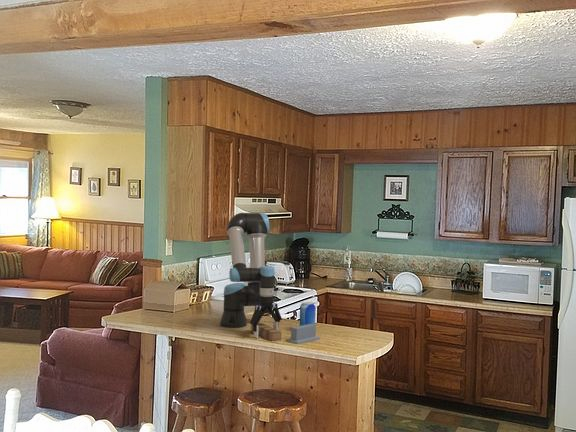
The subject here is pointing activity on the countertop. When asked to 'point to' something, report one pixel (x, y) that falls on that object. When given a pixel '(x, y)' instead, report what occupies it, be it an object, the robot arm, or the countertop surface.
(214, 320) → the countertop surface
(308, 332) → the fulcrum block
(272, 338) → the walnut bar
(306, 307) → the beer can
